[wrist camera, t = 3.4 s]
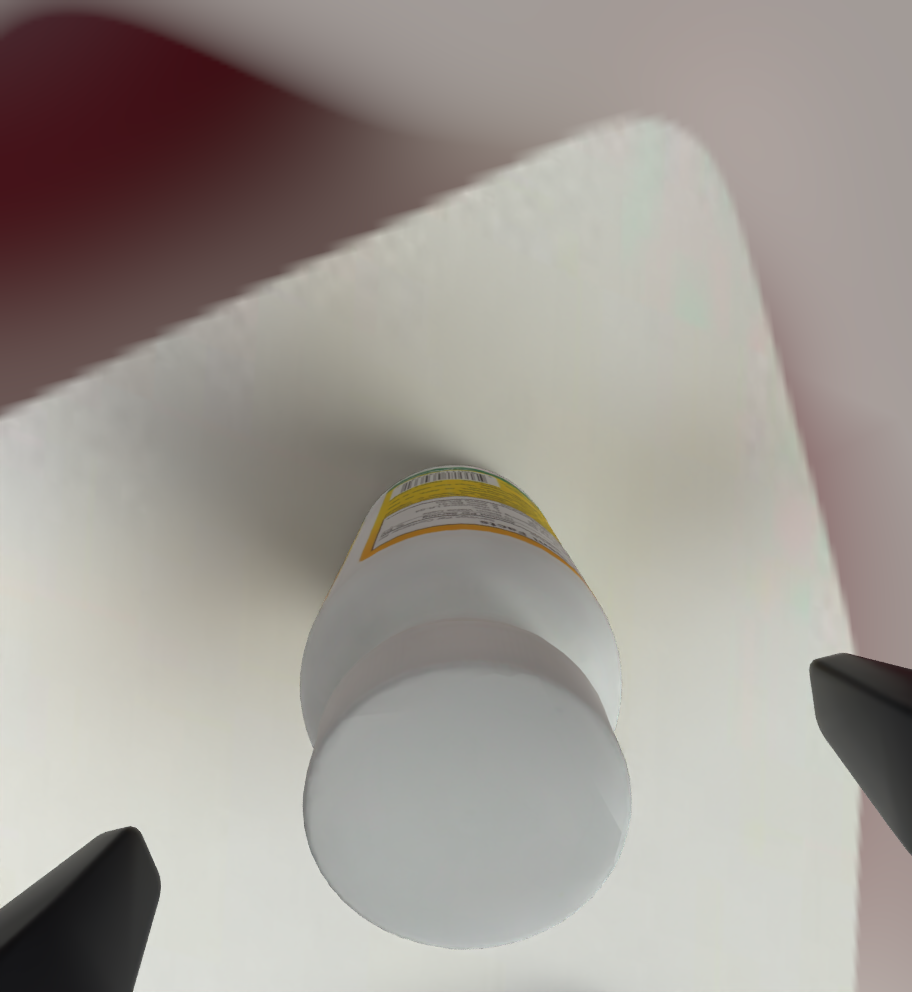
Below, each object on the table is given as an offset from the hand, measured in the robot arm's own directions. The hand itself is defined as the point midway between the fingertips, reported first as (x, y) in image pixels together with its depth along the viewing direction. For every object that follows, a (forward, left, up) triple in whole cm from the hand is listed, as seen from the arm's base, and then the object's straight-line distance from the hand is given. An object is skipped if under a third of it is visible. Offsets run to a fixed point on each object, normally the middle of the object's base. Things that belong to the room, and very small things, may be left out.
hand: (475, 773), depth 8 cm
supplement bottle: (0, 0, -9) cm, 9 cm away
